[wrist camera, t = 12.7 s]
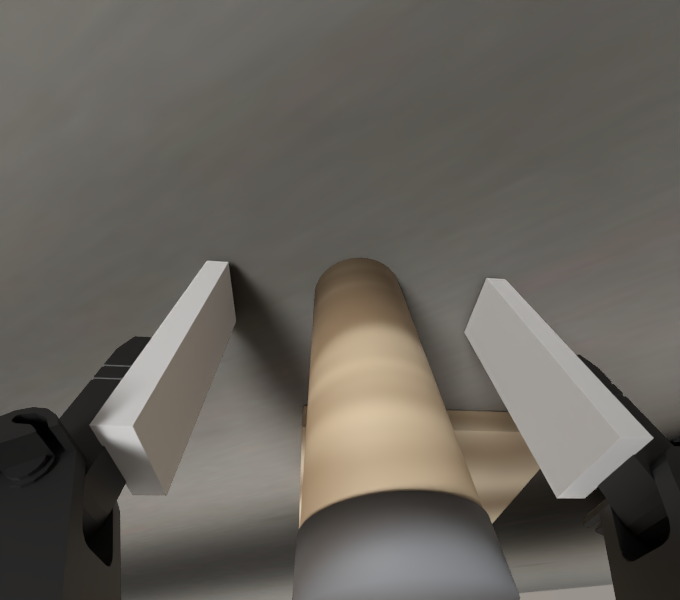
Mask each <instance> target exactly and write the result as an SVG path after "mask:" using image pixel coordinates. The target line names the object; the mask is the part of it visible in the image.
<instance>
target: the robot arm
mask: <svg viewBox="0 0 680 600" xmlns="http://www.w3.org/2000/svg"><path fill="white" fill-rule="evenodd" d="M235 323H236V316H235V308H234V300H233V293H232V285H231V278H230V270H229V262H219V261H206V263H205V264H204V265H203V267H202V268H201V270H200V271H199V272H198V274H197V275H196V277H195V278H194V279H193V281H192V282H191V284H190V285H189V286H188V288H187V289H186V291H185V292H184V293H183V295H182V296H181V298H180V299H179V300H178V302H177V303H176V305H175V306H174V307H173V309H172V310H171V312H170V313H169V314H168V316H167V317H166V319H165V320H164V321H163V323H162V324H161V326H160V327H159V328H158V330H157V331H156V333H155V334H154V335H153V337H133V338H132V339H130V340H129V341H127V342H126V343H125V344H123V345H122V346H120V347H119V348H117V349H116V350H115V352H114V353H113V354H112V355H111V356H110V358H109V359H108V360H107V361H106V363H105V365H104V367H101V369H100V370H99V371H98V372H97V373H96V375H95V376H94V380H91V381H90V382H89V383H88V384H87V386H86V387H85V388H84V389H83V391H82V392H81V393H80V394H79V395H78V397H77V398H76V399H75V400H74V402H73V403H72V404H71V405H70V406H69V408H68V409H67V410H66V411H65V412H64V414H63V415H62V416H61V417H60V419H59V418H58V417H57V415H56V414H54V413H53V412H51V411H50V410H49V409H46V408H36V407H32V408H26V409H21V410H15V411H13V412H10V413H8V414H5V415H2V416H0V600H121V555H120V510H119V506H118V503H117V499H118V497H119V495H120V493H121V491H122V489H123V487H124V485H125V484H126V485H127V487H128V488H129V490H130V492H131V493H132V495H167V493H168V491H169V488H170V486H171V483H172V481H173V478H174V476H175V473H176V471H177V468H178V466H179V463H180V461H181V458H182V456H183V453H184V451H185V448H186V446H187V443H188V441H189V438H190V436H191V433H192V431H193V428H194V426H195V423H196V421H197V418H198V416H199V413H200V411H201V408H202V406H203V403H204V401H205V398H206V396H207V393H208V391H209V388H210V386H211V383H212V381H213V378H214V376H215V373H216V371H217V368H218V366H219V363H220V361H221V358H222V356H223V353H224V351H225V348H226V346H227V343H228V341H229V338H230V336H231V333H232V331H233V328H234V326H235ZM464 333H465V335H466V336H467V338H468V340H469V342H470V344H471V345H472V347H473V349H474V351H475V353H476V354H477V356H478V358H479V360H480V361H481V363H482V365H483V367H484V369H485V370H486V372H487V374H488V376H489V378H490V379H491V381H492V383H493V385H494V387H495V388H496V390H497V392H498V394H499V395H500V397H501V399H502V401H503V403H504V404H505V406H506V408H507V410H508V412H509V413H510V415H511V417H512V419H513V421H514V422H515V424H516V426H517V428H518V430H519V431H520V433H521V435H522V437H523V438H524V440H525V442H526V444H527V446H528V447H529V449H530V451H531V453H532V455H533V456H534V458H535V460H536V462H537V464H538V465H539V467H540V469H541V471H542V472H543V474H544V476H545V478H546V480H547V481H548V483H549V485H550V487H551V489H552V490H553V492H554V494H555V496H556V498H586V497H587V496H588V495H589V494H590V493H591V492H593V491H594V490H595V489H596V488H597V487H599V489H600V490H601V492H602V493H603V495H604V496H605V498H606V499H605V500H604V501H603V502H601V503H600V504H599V505H598V506H596V507H595V508H594V509H593V510H592V511H590V512H589V513H588V514H587V515H586V516H585V517H584V523H583V526H585V527H587V528H589V527H590V526H591V525H593V524H594V523H595V522H597V521H598V520H599V519H601V524H600V525H598V526H597V528H596V530H595V532H597V533H599V534H601V535H604V539H605V544H606V550H607V555H608V560H609V565H610V571H611V576H612V581H613V586H614V592H615V597H616V600H680V446H674V445H673V444H672V443H670V442H669V440H668V439H667V438H666V437H665V436H664V435H663V434H662V433H661V432H660V431H659V430H658V429H657V428H656V427H655V426H654V425H653V424H652V423H651V422H650V421H649V420H648V419H647V418H646V417H645V416H644V415H643V414H642V413H641V412H640V411H639V410H638V409H637V407H636V406H635V405H634V404H633V403H632V402H631V401H630V400H629V399H628V398H627V397H624V396H623V393H622V392H621V391H620V390H619V389H618V388H617V387H616V386H615V385H614V384H611V381H610V380H609V379H608V378H607V377H606V376H605V374H604V373H603V372H602V371H601V370H600V369H599V368H598V367H596V366H595V365H593V364H592V363H591V362H589V361H588V360H586V359H585V358H583V357H582V356H580V355H576V354H575V353H574V352H573V351H572V350H571V349H570V348H569V347H568V346H567V345H566V344H565V343H564V342H563V340H562V339H561V338H560V337H559V336H558V335H557V334H556V333H555V332H554V331H553V330H552V329H551V328H550V327H549V325H548V324H547V323H546V322H545V321H544V320H543V319H542V318H541V317H540V316H539V315H538V314H537V313H536V312H535V311H534V309H533V308H532V307H531V306H530V305H529V304H528V303H527V302H526V301H525V300H524V299H523V298H522V297H521V296H520V294H519V293H518V292H517V291H516V290H515V289H514V288H513V287H512V286H511V285H510V284H509V283H508V282H507V281H506V279H494V278H486V280H485V283H484V285H483V288H482V290H481V292H480V295H479V297H478V300H477V302H476V305H475V307H474V310H473V312H472V315H471V317H470V319H469V322H468V324H467V327H466V329H465V332H464Z"/></svg>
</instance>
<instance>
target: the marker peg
mask: <svg viewBox="0 0 680 600" xmlns="http://www.w3.org/2000/svg"><path fill="white" fill-rule="evenodd" d="M292 600H520V597H519V593H518V591H517V588H516V585H515V583H514V580H513V577H512V575H511V572H510V570H509V567H508V564H507V562H506V559H505V557H504V554H503V551H502V549H501V546H500V543H499V541H498V538H497V536H496V533H495V530H494V528H493V525H492V522H491V520H490V517H489V515H488V514H487V512H486V511H485V510H484V509H483V507H482V504H481V502H480V499H479V496H478V494H477V491H476V488H475V486H474V483H473V480H472V478H471V475H470V472H469V470H468V467H467V464H466V462H465V459H464V456H463V454H462V451H461V448H460V446H459V443H458V440H457V438H456V435H455V432H454V430H453V427H452V424H451V422H450V419H449V416H448V414H447V411H446V408H445V406H444V403H443V400H442V398H441V395H440V392H439V390H438V387H437V384H436V382H435V379H434V376H433V373H432V371H431V368H430V365H429V363H428V360H427V357H426V355H425V352H424V349H423V347H422V344H421V341H420V339H419V336H418V333H417V331H416V328H415V325H414V323H413V320H412V317H411V315H410V312H409V309H408V307H407V304H406V301H405V299H404V296H403V293H402V291H401V288H400V285H399V283H398V280H397V278H396V276H395V275H394V273H393V272H392V271H391V270H390V269H389V268H388V267H386V266H385V265H384V264H382V263H380V262H378V261H375V260H371V259H366V258H353V259H348V260H344V261H341V262H339V263H337V264H335V265H333V266H332V267H330V268H329V269H328V270H327V271H325V273H324V274H323V275H322V276H321V278H320V279H319V281H318V283H317V285H316V289H315V298H314V313H313V329H312V345H311V361H310V377H309V393H308V409H307V425H306V441H305V457H304V473H303V489H302V505H301V520H300V528H299V530H298V532H297V539H296V554H295V568H294V583H293V597H292Z"/></svg>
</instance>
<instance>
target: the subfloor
mask: <svg viewBox="0 0 680 600" xmlns="http://www.w3.org/2000/svg"><path fill="white" fill-rule="evenodd" d="M307 409H308V406H304V407H303V419H302V441H301V477H300V513H299V528H300V520H301V505H302V489H303V473H304V457H305V441H306V425H307ZM446 411H447V414H448V416H449V419H450V422H451V424H452V427H453V430H454V432H455V435H456V438H457V440H458V443H459V446H460V448H461V451H462V454H463V456H464V459H465V462H466V464H467V467H468V470H469V472H470V475H471V478H472V480H473V483H474V486H475V488H476V491H477V494H478V496H479V499H480V502H481V504H482V507H483V509H484V510H485V511H486V512H487V514H488V515H489V517H490V520H491V522H492V523H493V522H494V521H495V520H496V519H497V518H498V516H499V515H500V514H501V513H502V512H503V511H504V510H505V508H506V507H507V506H508V505H509V504H510V503H511V502H512V500H513V499H514V498H515V497H516V496H517V495H518V494H519V492H520V491H521V490H522V489H523V488H524V487H525V485H526V484H527V483H528V482H529V481H530V480H531V479H532V477H533V476H534V475H535V474H536V473H537V472H538V471H539V469H540V467H539V465H538V464H537V462H536V460H535V458H534V456H533V455H532V453H531V451H530V449H529V447H528V446H527V444H526V442H525V440H524V438H523V437H522V435H521V433H520V431H519V430H518V428H517V426H516V424H515V422H514V421H513V419H512V417H511V415H510V413H509V412H493V411H459V410H446Z"/></svg>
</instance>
